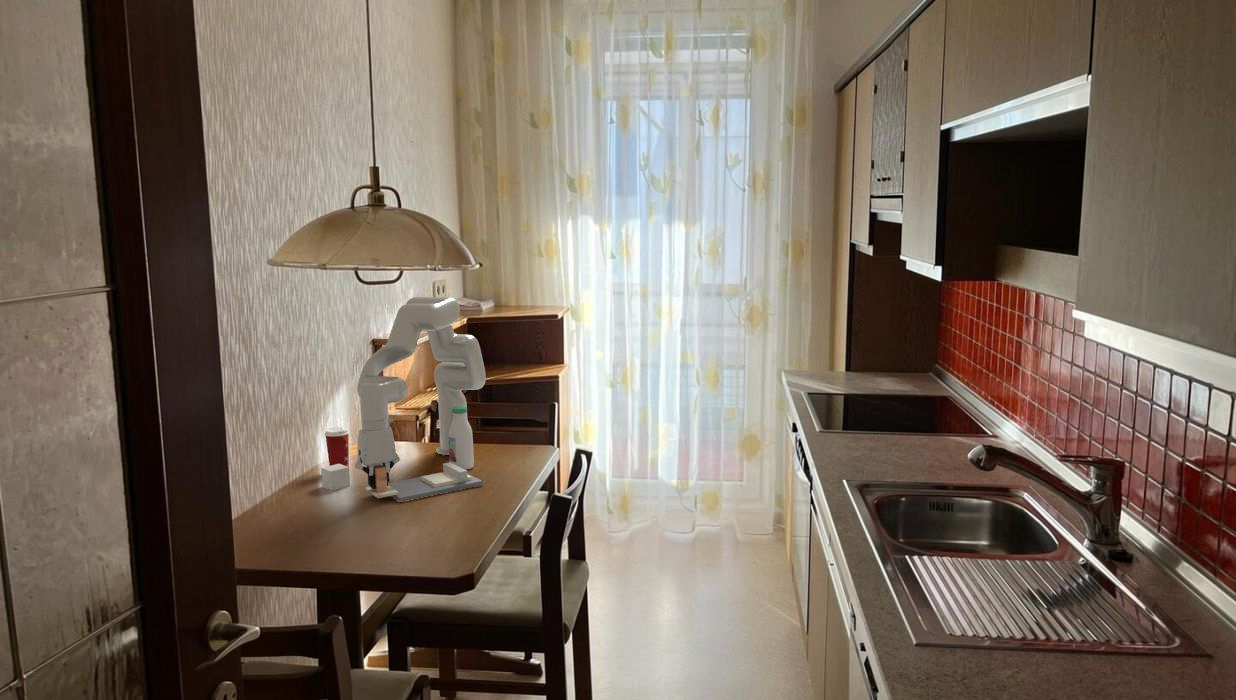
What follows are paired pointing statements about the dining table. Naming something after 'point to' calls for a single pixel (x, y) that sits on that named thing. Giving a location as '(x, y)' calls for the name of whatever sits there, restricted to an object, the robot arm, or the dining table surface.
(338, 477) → the white cube
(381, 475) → the stub
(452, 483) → the holder
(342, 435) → the paper cup
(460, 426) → the milk bottle
